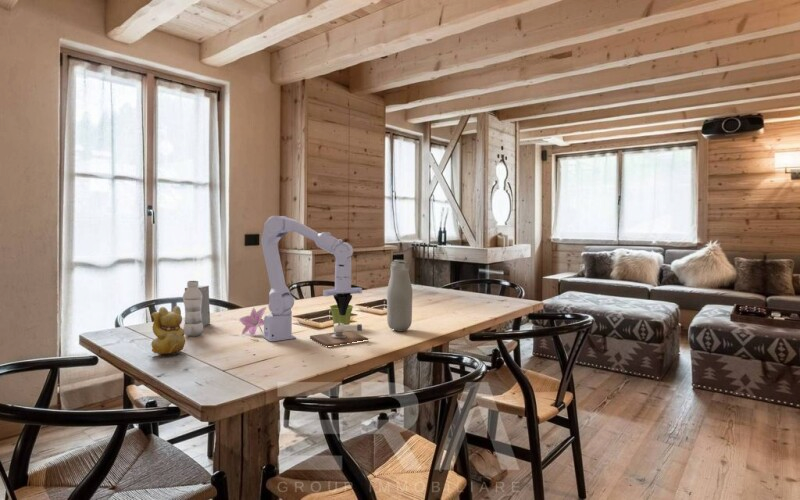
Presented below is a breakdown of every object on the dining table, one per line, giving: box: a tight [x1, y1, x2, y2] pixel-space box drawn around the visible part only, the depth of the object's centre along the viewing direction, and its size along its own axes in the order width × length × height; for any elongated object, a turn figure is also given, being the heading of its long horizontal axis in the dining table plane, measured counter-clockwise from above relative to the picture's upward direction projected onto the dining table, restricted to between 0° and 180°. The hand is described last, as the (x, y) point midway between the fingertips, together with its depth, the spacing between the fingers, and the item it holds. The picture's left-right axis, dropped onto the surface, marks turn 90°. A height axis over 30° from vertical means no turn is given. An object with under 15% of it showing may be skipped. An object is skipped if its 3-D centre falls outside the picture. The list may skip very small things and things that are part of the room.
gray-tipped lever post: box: [333, 323, 363, 333], centre depth 166 cm, size 4×10×3 cm, turn 101°
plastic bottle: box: [182, 280, 204, 337], centre depth 168 cm, size 6×7×20 cm
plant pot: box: [329, 304, 354, 326], centre depth 185 cm, size 9×9×9 cm
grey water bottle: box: [386, 259, 413, 331], centre depth 182 cm, size 10×10×28 cm
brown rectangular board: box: [309, 331, 369, 347], centre depth 166 cm, size 16×14×3 cm
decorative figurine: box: [150, 305, 186, 358], centre depth 145 cm, size 10×8×15 cm
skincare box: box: [184, 285, 211, 328], centre depth 185 cm, size 8×7×16 cm
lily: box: [238, 306, 267, 338], centre depth 174 cm, size 12×12×10 cm
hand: (342, 314), depth 165 cm, fingers closed
